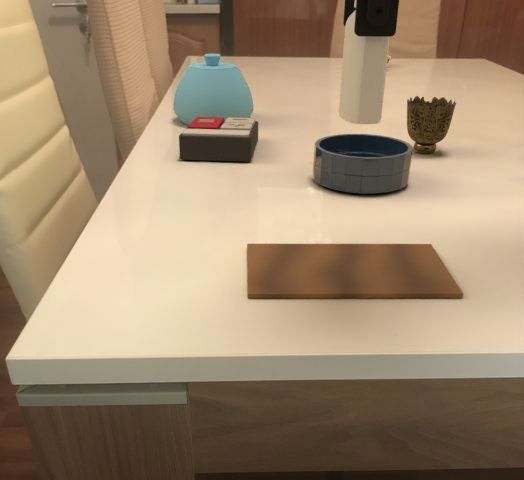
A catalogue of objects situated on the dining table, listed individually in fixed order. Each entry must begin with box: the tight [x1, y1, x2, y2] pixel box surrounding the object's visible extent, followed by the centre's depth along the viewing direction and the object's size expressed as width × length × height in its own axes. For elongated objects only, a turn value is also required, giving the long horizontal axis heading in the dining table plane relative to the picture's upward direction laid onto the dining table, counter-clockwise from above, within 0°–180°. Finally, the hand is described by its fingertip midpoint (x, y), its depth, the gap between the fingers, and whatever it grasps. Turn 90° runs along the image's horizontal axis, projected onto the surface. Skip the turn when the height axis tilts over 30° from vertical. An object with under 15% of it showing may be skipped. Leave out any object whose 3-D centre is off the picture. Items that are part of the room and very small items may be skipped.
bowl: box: [312, 133, 414, 195], centre depth 89 cm, size 13×13×5 cm
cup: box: [406, 95, 457, 155], centre depth 102 cm, size 8×7×8 cm
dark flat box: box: [178, 117, 259, 163], centre depth 103 cm, size 11×4×15 cm
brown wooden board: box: [246, 243, 464, 299], centre depth 64 cm, size 20×12×1 cm, turn 91°
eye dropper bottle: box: [338, 0, 391, 125], centre depth 54 cm, size 4×6×12 cm
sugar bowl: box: [173, 53, 254, 126], centre depth 119 cm, size 15×15×12 cm
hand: (367, 29), depth 53 cm, fingers closed on eye dropper bottle, 5 cm apart
